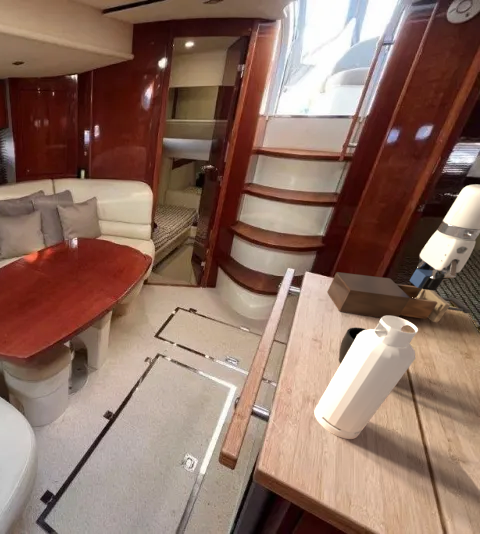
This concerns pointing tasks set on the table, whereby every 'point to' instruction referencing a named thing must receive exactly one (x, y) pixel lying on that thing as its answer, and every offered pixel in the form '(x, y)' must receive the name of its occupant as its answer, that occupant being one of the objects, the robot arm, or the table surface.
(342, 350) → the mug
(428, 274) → the block
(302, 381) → the table surface
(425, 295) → the drawer
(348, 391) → the bottle
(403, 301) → the cabinet
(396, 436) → the table surface
